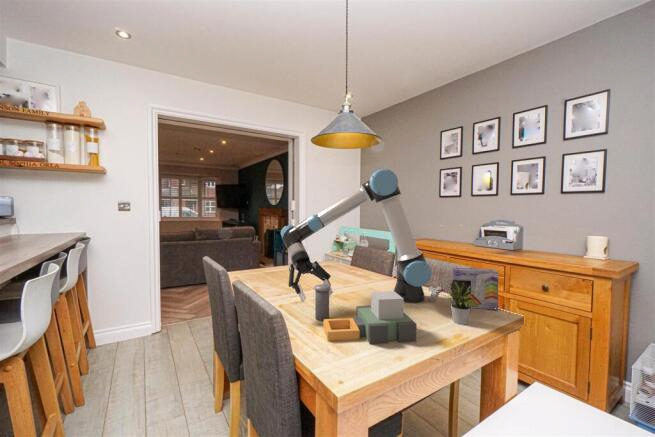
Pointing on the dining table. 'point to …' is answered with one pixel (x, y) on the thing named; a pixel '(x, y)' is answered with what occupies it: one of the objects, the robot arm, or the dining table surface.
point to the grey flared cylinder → (321, 302)
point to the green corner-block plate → (375, 321)
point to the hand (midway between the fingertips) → (318, 297)
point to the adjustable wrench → (434, 293)
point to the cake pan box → (477, 286)
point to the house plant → (460, 305)
